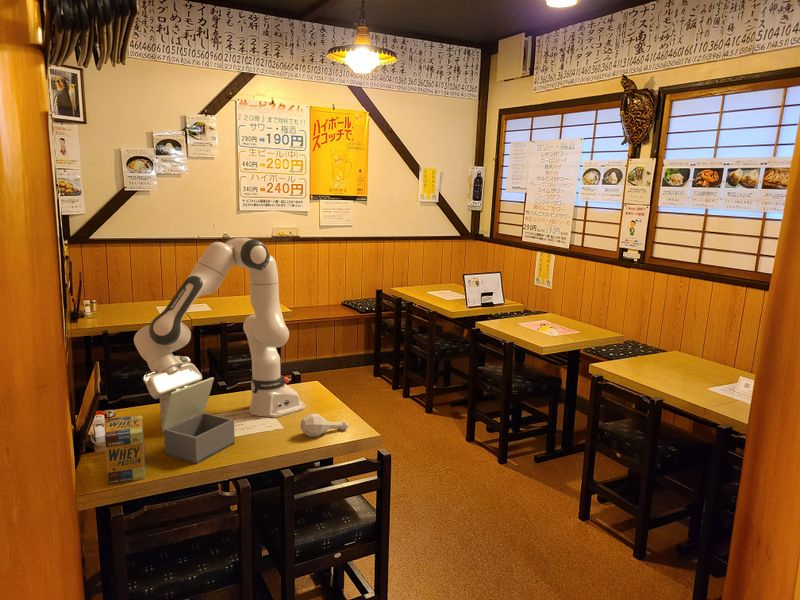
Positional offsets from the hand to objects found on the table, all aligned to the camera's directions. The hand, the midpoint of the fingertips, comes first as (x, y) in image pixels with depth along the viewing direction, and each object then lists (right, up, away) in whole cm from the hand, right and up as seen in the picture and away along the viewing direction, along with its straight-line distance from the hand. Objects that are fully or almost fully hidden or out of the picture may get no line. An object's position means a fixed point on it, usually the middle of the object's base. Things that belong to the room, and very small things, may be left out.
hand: (187, 399), depth 200 cm
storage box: (+4, -17, +1) cm, 18 cm away
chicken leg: (+45, -16, +17) cm, 51 cm away
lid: (+1, -1, 0) cm, 1 cm away
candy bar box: (-11, -14, +18) cm, 25 cm away
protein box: (-13, -20, -16) cm, 29 cm away
